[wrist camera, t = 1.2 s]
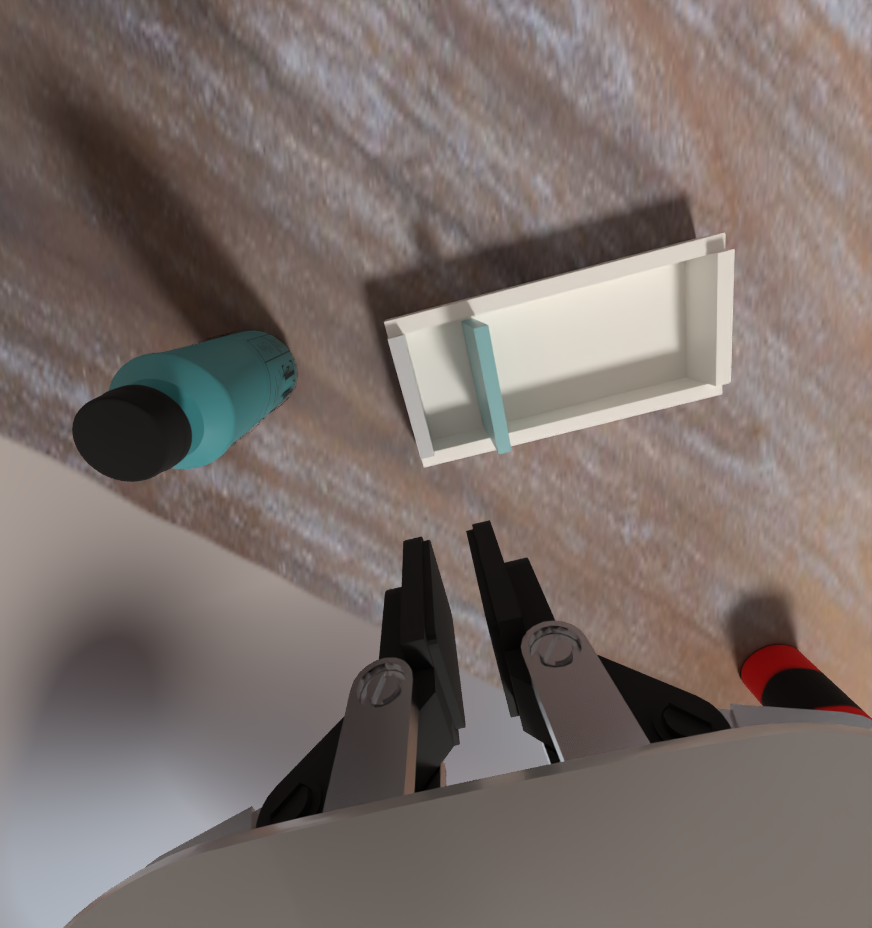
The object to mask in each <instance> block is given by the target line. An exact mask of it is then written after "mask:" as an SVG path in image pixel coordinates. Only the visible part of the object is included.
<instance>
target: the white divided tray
mask: <svg viewBox="0 0 872 928" xmlns="http://www.w3.org/2000/svg"><path fill="white" fill-rule="evenodd" d="M733 285H734V249H731V250H725V233H720V234H715V235H710V236H705V237H700V238H695V239H691V240H687V241H683V242H680V243H676V244H672V245H668V246H664V247H661V248H657V249H653V250H649V251H645V252H642V253H638V254H634V255H630V256H626V257H623V258H619V259H615V260H611V261H607V262H603V263H600V264H596V265H592V266H588V267H584V268H581V269H577V270H573V271H569V272H565V273H562V274H558V275H554V276H550V277H546V278H543V279H539V280H535V281H531V282H527V283H523V284H520V285H516V286H512V287H508V288H504V289H501V290H497V291H493V292H489V293H485V294H482V295H478V296H474V297H470V298H466V299H463V300H459V301H455V302H451V303H447V304H443V305H440V306H436V307H432V308H428V309H424V310H421V311H417V312H413V313H409V314H405V315H402V316H398V317H394V318H390V319H386V320H385V321H384V324H385V328H386V332H387V335H388V343H389V346H390V350H391V354H392V357H393V361H394V364H395V368H396V372H397V375H398V379H399V382H400V386H401V389H402V393H403V397H404V400H405V404H406V407H407V411H408V415H409V418H410V422H411V425H412V429H413V433H414V436H415V440H416V443H417V447H418V451H419V454H420V458H421V459H422V461H423V465H424V467H428V466H432V465H436V464H440V463H444V462H448V461H452V460H456V459H461V458H465V457H469V456H473V455H477V454H481V453H485V452H489V451H493V450H496V448H495V447H494V445H493V443H492V441H491V439H490V437H489V435H488V433H487V432H486V430H485V428H484V426H483V423H482V418H481V413H480V409H479V404H478V399H477V394H476V389H475V385H474V380H473V375H472V370H471V366H470V361H469V356H468V351H467V347H466V342H465V337H464V332H463V327H462V323H461V321H465V320H469V319H472V318H473V319H476V320H478V321H480V322H483V323H485V324H487V325H488V326H489V332H490V337H491V342H492V348H493V353H494V358H495V364H496V369H497V374H498V380H499V385H500V391H501V396H502V401H503V407H504V412H505V417H506V423H507V428H508V434H509V439H510V444H511V446H513V445H518V444H522V443H526V442H530V441H534V440H538V439H542V438H546V437H550V436H554V435H558V434H562V433H566V432H570V431H574V430H579V429H583V428H587V427H591V426H595V425H599V424H603V423H607V422H611V421H615V420H619V419H623V418H627V417H631V416H636V415H640V414H644V413H648V412H652V411H656V410H660V409H664V408H668V407H672V406H676V405H680V404H684V403H688V402H692V401H697V400H701V399H705V398H709V397H713V396H717V395H721V394H722V385H724V384H728V383H731V356H732V320H733Z"/></svg>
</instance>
